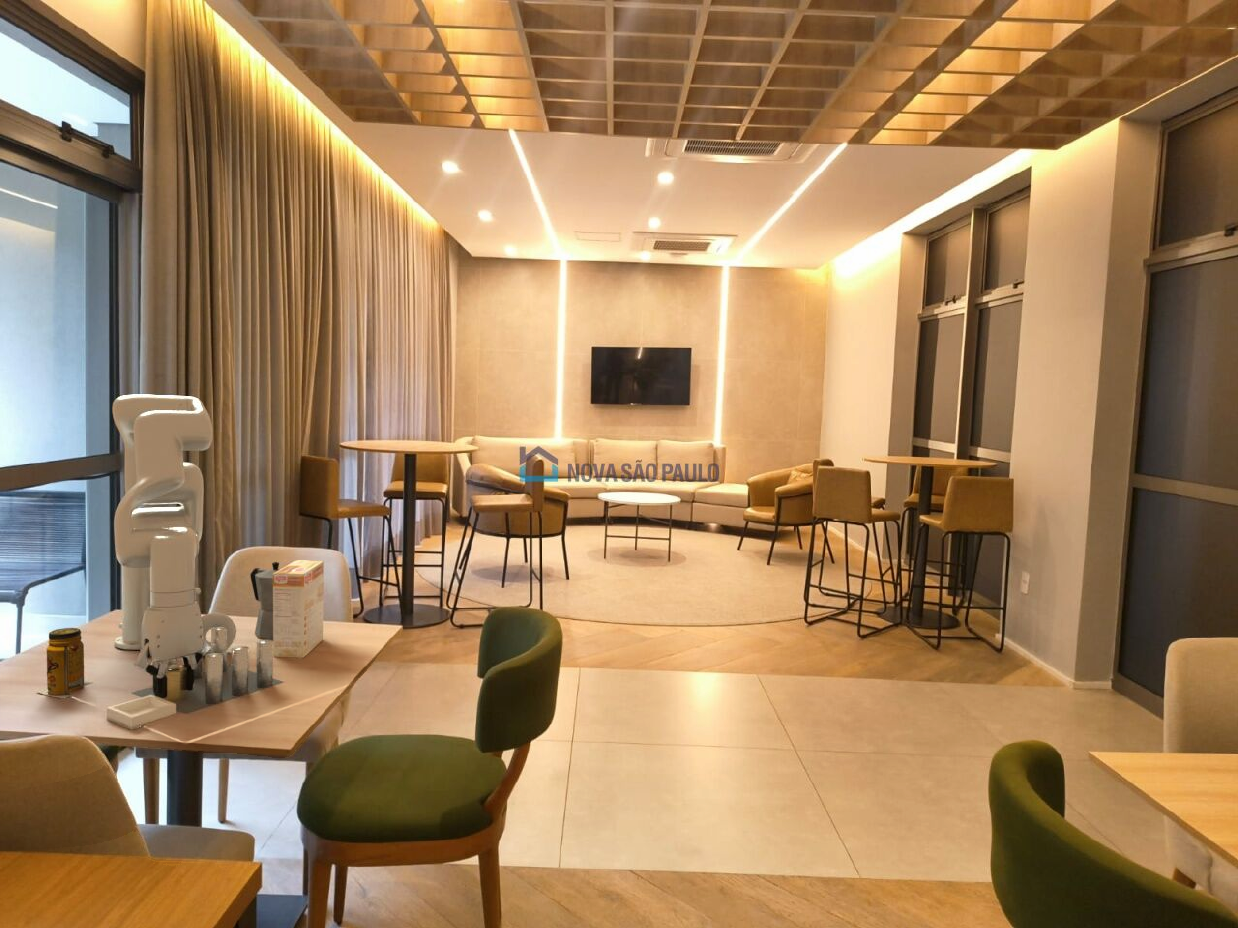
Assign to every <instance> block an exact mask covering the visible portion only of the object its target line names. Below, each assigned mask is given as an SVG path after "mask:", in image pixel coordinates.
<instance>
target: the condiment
mask: <svg viewBox="0 0 1238 928" xmlns="http://www.w3.org/2000/svg"><path fill="white" fill-rule="evenodd" d="M84 647H85V645H84V642H83V641H82V630H81V629H80V628H77V627H65V628H64V627H63V628H58V629H54V630H51V631H50V632H49V634H48V645H47V646H46V685H47V687H46V689H44V690H41V691H37V692H36V693H37V694H38V693H39V694H42V695H44V696H49V697H53V698H59V699H65V698H68V697H72V696H73V695H72V694H71V693H75V692H77V691H80V690H82V689H83V688H84V687H85V686H88V685H92V684H94V682H91V681H88V680H85V650H84V649H85V648H84ZM47 693H48V694H47Z"/></svg>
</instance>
